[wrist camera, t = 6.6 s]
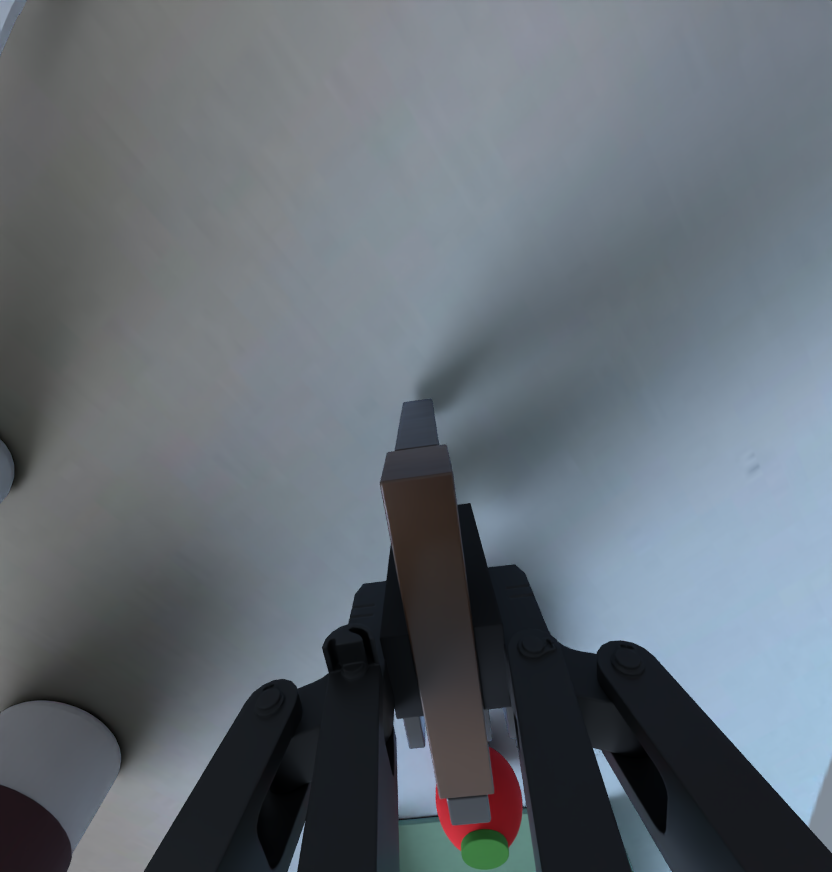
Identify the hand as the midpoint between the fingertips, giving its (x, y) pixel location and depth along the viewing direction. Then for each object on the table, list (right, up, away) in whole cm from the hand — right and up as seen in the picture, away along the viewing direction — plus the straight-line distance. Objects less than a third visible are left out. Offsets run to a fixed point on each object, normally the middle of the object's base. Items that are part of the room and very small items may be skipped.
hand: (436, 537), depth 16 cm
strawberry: (+2, -14, +4) cm, 15 cm away
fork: (0, -2, +2) cm, 3 cm away
